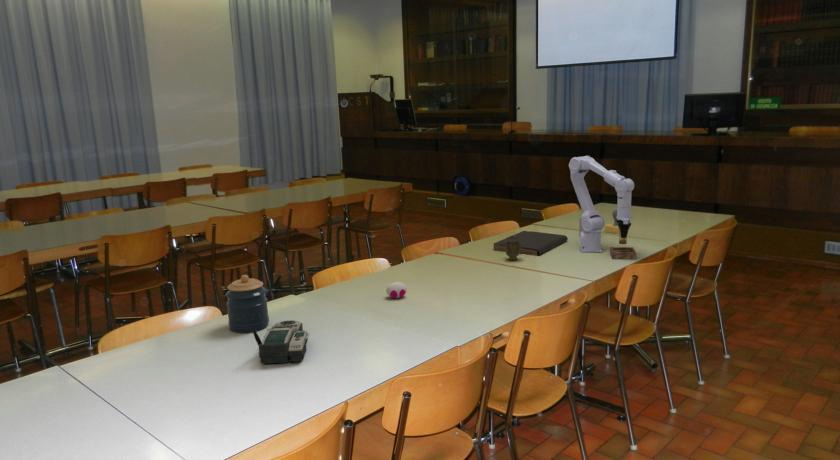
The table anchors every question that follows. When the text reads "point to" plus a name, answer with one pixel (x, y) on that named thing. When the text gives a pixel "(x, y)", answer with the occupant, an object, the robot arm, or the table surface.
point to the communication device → (283, 343)
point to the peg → (622, 239)
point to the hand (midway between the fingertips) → (623, 237)
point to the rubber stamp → (612, 225)
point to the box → (622, 253)
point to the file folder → (533, 242)
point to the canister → (247, 305)
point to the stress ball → (396, 290)
